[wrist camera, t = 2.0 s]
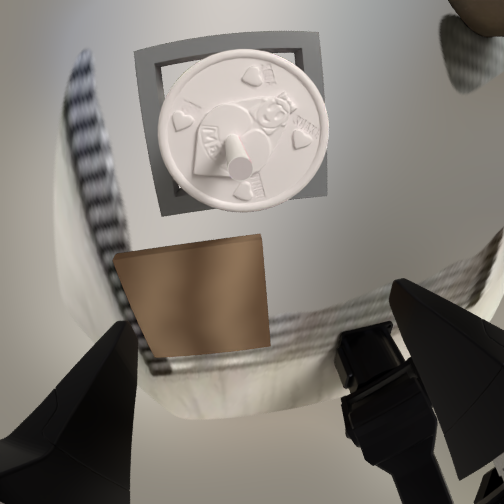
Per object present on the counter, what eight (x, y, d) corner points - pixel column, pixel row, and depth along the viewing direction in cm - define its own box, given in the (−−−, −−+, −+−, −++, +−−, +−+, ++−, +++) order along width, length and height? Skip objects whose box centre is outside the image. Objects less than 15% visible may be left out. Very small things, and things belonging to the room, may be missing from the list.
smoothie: (167, 113, 17) (62, 147, 5) (242, 55, 16) (290, -33, 4) (227, 180, 20) (238, 317, 8) (299, 126, 19) (427, 185, 6)
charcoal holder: (309, 37, 15) (318, 32, 13) (318, 187, 21) (327, 195, 19) (142, 55, 15) (133, 51, 13) (166, 206, 20) (161, 216, 19)
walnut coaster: (260, 233, 22) (261, 239, 22) (269, 339, 28) (270, 346, 28) (115, 253, 22) (112, 260, 21) (156, 350, 28) (154, 357, 27)
